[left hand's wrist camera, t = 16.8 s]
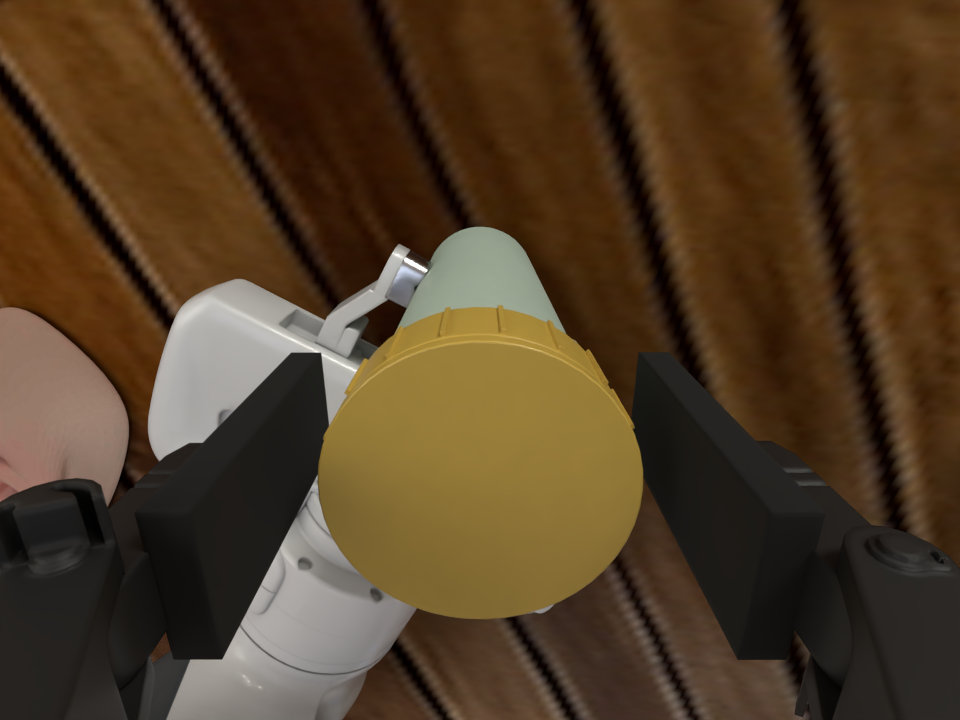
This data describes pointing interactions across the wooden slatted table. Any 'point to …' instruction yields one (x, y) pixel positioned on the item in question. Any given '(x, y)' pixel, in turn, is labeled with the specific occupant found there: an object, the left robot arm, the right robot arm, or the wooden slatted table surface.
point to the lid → (480, 466)
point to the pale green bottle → (480, 278)
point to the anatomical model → (55, 410)
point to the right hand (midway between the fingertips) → (490, 296)
